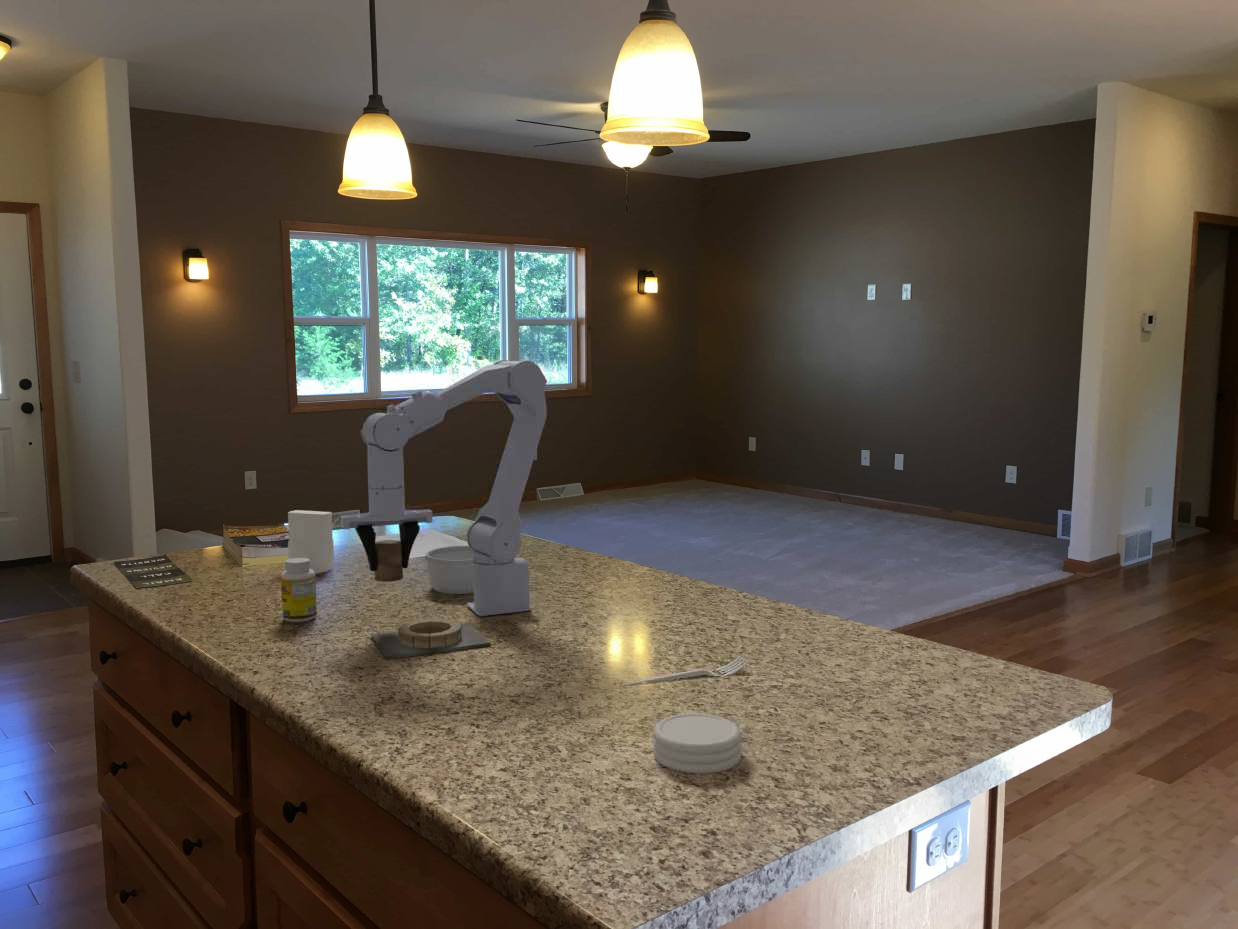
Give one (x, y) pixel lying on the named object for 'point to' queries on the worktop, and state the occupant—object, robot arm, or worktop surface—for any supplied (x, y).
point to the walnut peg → (388, 560)
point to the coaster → (697, 743)
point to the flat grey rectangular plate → (429, 638)
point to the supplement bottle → (298, 591)
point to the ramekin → (451, 569)
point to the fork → (697, 673)
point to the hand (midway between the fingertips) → (388, 568)
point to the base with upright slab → (311, 538)
